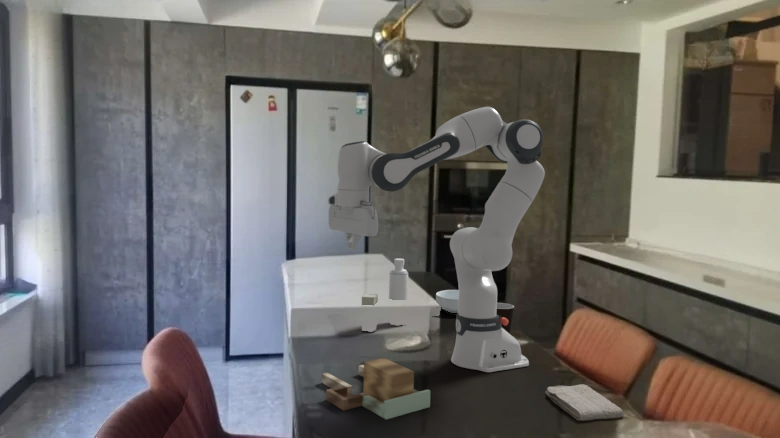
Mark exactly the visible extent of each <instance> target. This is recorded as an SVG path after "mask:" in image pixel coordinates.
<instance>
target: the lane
mask: <svg viewBox="0 0 780 438" xmlns="http://www.w3.org/2000/svg"><path fill="white" fill-rule="evenodd" d="M321 375H322V376H321V378H322V379H321V383H322V384H323V385H325V386H327V387H328V389H326V390H325V401H327V402H329V403H330V404H332V405H334V406H336V407H337V408H338V409H340V410H341V411H348V410H352V409H355V408H359V407H363V408H364V409H366V410H369V411H370V412H372V413H374V414H376V415H377V416H379V417H381V418H383V415H384V403H383V402H381V401H379V400H377V399H375V398H373V397H372V396H370V395H368V394H366V393H363V392H361V393H355V394H353V385H351V384H349V383H348V382H346V381H344V380H342V379H341V378H339V377H337V376H334V375H332V374H331V373H329V372H323V373H322V374H321ZM358 375H359V376H360V377H363V378H364V364H361V365H358ZM416 392H420V391H419V390H417V389H415V388H414V392H413V393H416ZM383 419H384V418H383Z"/></svg>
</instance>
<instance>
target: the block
mask: <svg viewBox="0 0 780 438" xmlns="http://www.w3.org/2000/svg"><path fill="white" fill-rule="evenodd" d="M363 365H364V377H363V392H362V393H366V394H368V395H370V396H372V397H373V398H375V399H377V400H379V401H381V402H383V403H384V401H385V400H389V399H393V398H397V397H401V396H405V395H408V394H412V393H413V392H414V389H415V388H414V387H415V386H414V385H415V383H414V382H415V371H414V370H412V369H410V368H407V367H406V366H403V365H401V364H399V363H396V362H394V361H391V360H389V359H387V358H385V357H382V358H377V359H373V360H372V359H371V360H368V361H363Z"/></svg>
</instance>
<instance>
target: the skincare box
mask: <svg viewBox="0 0 780 438" xmlns="http://www.w3.org/2000/svg"><path fill="white" fill-rule="evenodd" d="M378 297H379V296H378V293H365V294H363V295H362V296H361V306H362V305H373V306H374V305H375V304H376V303H377V302H378V299H379V298H378Z"/></svg>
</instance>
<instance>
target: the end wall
mask: <svg viewBox="0 0 780 438" xmlns="http://www.w3.org/2000/svg"><path fill="white" fill-rule="evenodd" d="M431 393H432V392H431V390H430V389H428V388H427V389H424V390H421V391H419V392H416V393H412V394H408V395H405V396H401V397H397V398H393V399H389V400H385V401H384V415H383V419H384V420H389V419H394V418H396V417H399V416H403V415H406V414H410V413H413V412H417V411H418V412H419V411H421V410H423V409H424V410H425V409H427V408H430V407H431Z"/></svg>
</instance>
